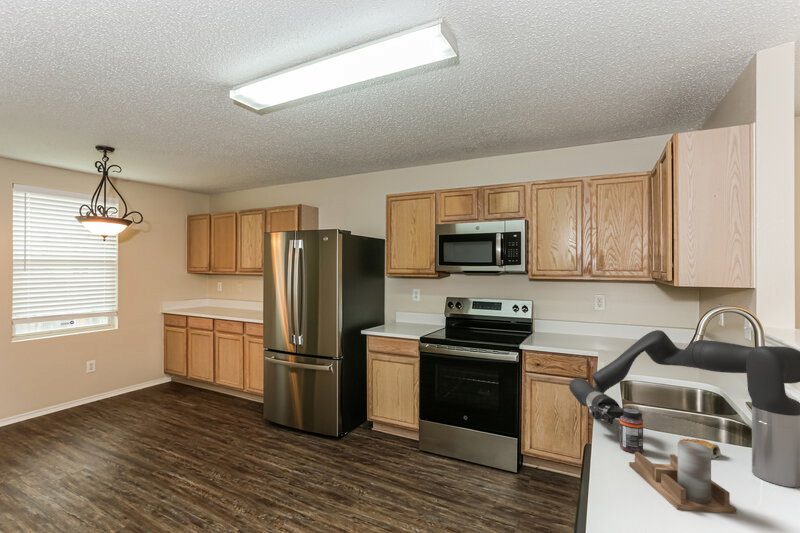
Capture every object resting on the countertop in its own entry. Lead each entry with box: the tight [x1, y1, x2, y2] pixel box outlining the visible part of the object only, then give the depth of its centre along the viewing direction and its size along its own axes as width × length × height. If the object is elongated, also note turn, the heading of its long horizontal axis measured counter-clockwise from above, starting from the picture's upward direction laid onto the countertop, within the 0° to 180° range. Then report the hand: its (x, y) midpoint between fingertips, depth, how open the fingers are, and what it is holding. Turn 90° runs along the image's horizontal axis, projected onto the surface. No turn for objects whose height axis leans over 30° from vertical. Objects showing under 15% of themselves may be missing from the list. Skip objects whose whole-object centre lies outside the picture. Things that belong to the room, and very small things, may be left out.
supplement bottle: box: [619, 408, 644, 454], centre depth 115 cm, size 6×6×11 cm
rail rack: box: [628, 440, 737, 514], centre depth 94 cm, size 12×20×12 cm, turn 176°
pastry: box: [679, 438, 721, 460], centre depth 115 cm, size 9×7×4 cm
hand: (626, 421), depth 118 cm, fingers open, 8 cm apart
